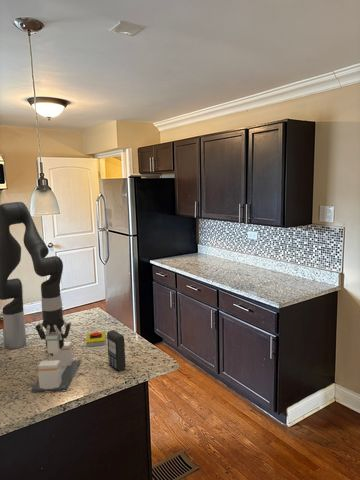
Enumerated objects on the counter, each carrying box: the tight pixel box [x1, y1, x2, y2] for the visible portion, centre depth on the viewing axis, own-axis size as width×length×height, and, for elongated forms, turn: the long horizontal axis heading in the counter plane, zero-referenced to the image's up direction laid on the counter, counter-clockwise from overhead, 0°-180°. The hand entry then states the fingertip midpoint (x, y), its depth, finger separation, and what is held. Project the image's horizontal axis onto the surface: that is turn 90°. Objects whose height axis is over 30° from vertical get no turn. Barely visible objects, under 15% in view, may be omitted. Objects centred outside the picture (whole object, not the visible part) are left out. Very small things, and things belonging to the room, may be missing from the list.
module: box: [47, 332, 61, 354], centre depth 143 cm, size 4×6×7 cm
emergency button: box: [85, 331, 107, 350], centre depth 177 cm, size 9×4×15 cm
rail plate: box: [30, 359, 81, 393], centre depth 145 cm, size 13×22×1 cm, turn 2°
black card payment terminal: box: [106, 330, 126, 372], centre depth 150 cm, size 9×4×15 cm, turn 39°
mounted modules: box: [37, 341, 74, 388], centre depth 144 cm, size 7×21×9 cm, turn 2°
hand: (55, 347), depth 143 cm, fingers closed on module, 4 cm apart
